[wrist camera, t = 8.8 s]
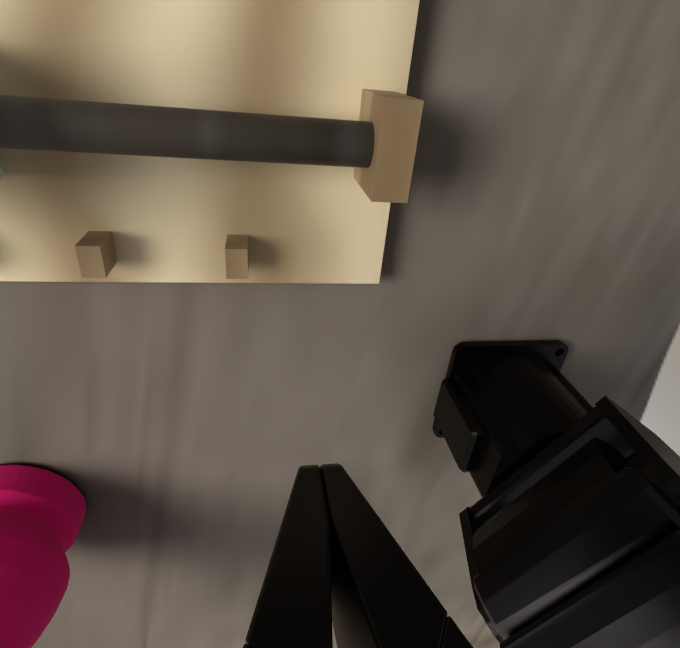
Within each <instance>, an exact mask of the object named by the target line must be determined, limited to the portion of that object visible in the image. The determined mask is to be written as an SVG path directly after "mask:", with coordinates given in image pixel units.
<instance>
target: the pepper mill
mask: <svg viewBox="0 0 680 648" xmlns="http://www.w3.org/2000/svg"><path fill="white" fill-rule="evenodd" d="M85 514H86V503H85V499H84V497H83V495H82V494H81V492H80V491H79V490H78V488H77V487H76V486H74V485H73V484H72V483H71V482H70V481H68V480H67V479H65V478H63V477H61V476H59V475H57V474H55V473H53V472H51V471H48V470H45V469H41V468H37V467H33V466H25V465H15V464H12V465H0V648H31V647H32V646H33V645H34V643H35V642H36V641H37V640H38V638H39V637H40V635H41V634H42V632H43V631H44V629H45V628H46V627H47V625H48V624H49V622H50V621H51V619H52V618H53V616H54V614H55V612H56V610H57V608H58V606H59V604H60V602H61V600H62V598H63V596H64V593H65V591H66V589H67V585H68V581H69V577H70V570H69V564H68V560H67V557H66V554H65V552H66V551H67V550H68V549H69V548H70V547H71V546H72V545H73V543H74V541H75V539H76V537H77V534H78V532H79V529H80V527H81V524H82V522H83V519H84V517H85Z"/></svg>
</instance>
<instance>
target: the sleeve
mask: <svg viewBox="0 0 680 648" xmlns="http://www.w3.org/2000/svg"><path fill="white" fill-rule="evenodd" d="M2 178H4V176H3V173H2V169H1V166H0V179H2Z"/></svg>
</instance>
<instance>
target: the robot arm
mask: <svg viewBox="0 0 680 648" xmlns="http://www.w3.org/2000/svg"><path fill="white" fill-rule="evenodd" d="M558 349H559V350H558ZM465 350H466V351H465ZM462 351H465V352H464V353H463V354H461V352H462ZM567 353H568V347H567V346H566V345H565V344H564V343H563V342H562V341H559V340H557V341H502V342H462V343H459V344H457V345H456V346H455V347H454V349H453V351H452V355H451V359H450V362H449V366H448V370H447V374H446V378H445V379H444V380H443V381H442V384H441V388H440V391H439V395H438V399H437V403H436V407H435V411H434V417H435V420H434V423H433V431H434V433H435V435H436V436H437V437H441V438H442V437H444V438H445V440H446V442H447V444H448V446H449V448H450V450H451V453H452V455H453V457H454V459H455V461H456V463H457V465H458V467H459V469H460V470H461V471H462V472H470V474H471V476H472V478H473V480H474V482H475V484H476V486H477V488H478V490H479V492H480V494H481V496H482V499H480V500H479V501H478V502H477V503H475V504H474V505H473V506H472V507H467V508H466V509H465V510H463V511H462V512H461V513H460V514H459V516H460V521H461V527H462V533H463V538H464V544H465V550H466V555H467V561H468V567H469V572H470V578H471V583H472V589H473V593H474V597H475V600H476V604H477V608H478V610H479V612H480V614H481V615H482V616H483V618H484V620H485V622H486V624H487V625H488V627H489V628H490V630H491V631H492V633H493V635H494V636H495V637H496V639H497V640H498V641H499V642H500V648H680V457H679V456H678V455H677V454H676V453H675V452H674V451H673V450H672V449H671V448H670V447H669V446H667V445H666V444H665V443H664V442H663V441H662V440H661V439H660V438H659V437H658V436H657V435H656V434H654V433H653V432H652V431H651V430H649V429H648V428H647V427H645V426H644V425H643V424H641V423H640V422H639V421H638V420H636V419H635V418H634V417H632V416H631V415H630V414H629V413H627V412H626V411H625V410H623V409H622V408H621V407H619V406H618V405H617V404H616V403H614V402H613V401H612V400H610V399H609V398H608V397H606V396H604V397H603V398H602V399H601V400H599V401H598V402H597V403H596V404H595V405H596V407H594V408H593V407H592V406H591V405H590V404H589V403H588V402H587V400H586V399H585V398H584V397H583V396H582V395H581V394H580V393H579V392H578V391H577V390H576V389H575V388H574V387H573V385H572V384H571V383H570V382H569V381H568V380H567V379H566V378H565V377H564V376H563V375H562V374H561V373H560V369H561V367H562V365H563V362H564V360H565V357H566V355H567ZM332 621H333V627H334V632H335V637H336V642H337V647H338V648H473V647H472V646H471V644H470V643H469V642H468V640H467V639H466V638H465V636H464V635H463V633H462V632H461V631H460V629H459V628H458V626H457V625H456V624H455V622H454V621H453V619H452V618H451V617H450V616H448V617H447V611H446V610H445V609H444V607H443V606H442V604H441V603H440V602H439V600H438V599H437V598H436V596H435V595H434V593H433V592H432V591H431V589H430V588H429V586H428V585H427V584H426V582H425V581H424V579H423V578H422V577H421V575H420V574H419V572H418V571H417V570H416V568H415V567H414V566H413V564H412V563H411V561H410V560H409V559H408V557H407V556H406V554H405V553H404V552H403V550H402V549H401V547H400V546H399V545H398V543H397V542H396V540H395V539H394V538H393V536H392V535H391V534H390V532H389V531H388V529H387V528H386V527H385V525H384V524H383V522H382V521H381V520H380V518H379V517H378V515H377V514H376V513H375V511H374V510H373V509H372V507H371V506H370V504H369V503H368V502H367V500H366V499H365V497H364V496H363V495H362V493H361V492H360V490H359V489H358V488H357V486H356V485H355V483H354V482H353V481H352V479H351V478H350V477H349V475H348V474H347V472H346V471H345V470H344V468H343V467H342V466H341V465H340V464H323V465H321V466H320V467H319V466H318V465H307V466H301V467H300V468H299V469H298V472H297V475H296V479H295V482H294V485H293V488H292V492H291V495H290V498H289V501H288V504H287V508H286V511H285V514H284V517H283V521H282V524H281V527H280V530H279V534H278V537H277V540H276V543H275V546H274V550H273V553H272V556H271V559H270V563H269V566H268V569H267V572H266V575H265V579H264V582H263V585H262V588H261V592H260V595H259V598H258V601H257V604H256V608H255V611H254V614H253V617H252V621H251V624H250V627H249V630H248V634H247V637H246V644H244V646H243V648H332Z"/></svg>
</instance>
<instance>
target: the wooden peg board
mask: <svg viewBox="0 0 680 648" xmlns="http://www.w3.org/2000/svg"><path fill="white" fill-rule="evenodd" d="M419 1H420V0H0V166H1V169H2V173H3V176H4V178H2V179H0V281H47V282H200V283H353V284H379V280H380V273H381V266H382V259H383V252H384V245H385V238H386V231H387V224H388V217H389V210H390V203H407V202H408V196H409V190H410V184H411V178H412V171H413V165H414V159H415V153H416V147H417V141H418V135H419V129H420V122H421V116H422V110H423V104H424V100H421V99H418V98H414V97H411V96H408V95H406V92H407V85H408V78H409V71H410V64H411V57H412V50H413V43H414V36H415V29H416V22H417V15H418V8H419Z"/></svg>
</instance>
